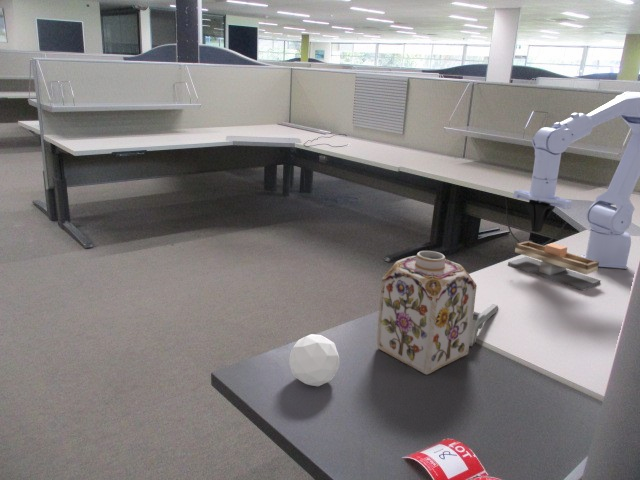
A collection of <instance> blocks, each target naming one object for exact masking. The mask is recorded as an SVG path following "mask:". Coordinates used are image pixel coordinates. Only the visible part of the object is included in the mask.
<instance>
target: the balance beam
mask: <svg viewBox="0 0 640 480" xmlns="http://www.w3.org/2000/svg"><path fill="white" fill-rule="evenodd" d="M544 251H545V245H541V244H539V243H535V242H532V241H529V240H527V241H522V242H519V243H516V244H515V249H514V253H516V254H520V255H523V256H524V257H522V258H518V259H515V260H511V261H507V266H510V267H513V268H516V269H518V270H522V271H525V272H528V273H531V274H534V275H535V276H539V277H542V278H545V279H548V280H551V281H554V282H557V283H560V284H563V285H566V286H568V287H571V288H573V289H574V288H575V289H576V290H581V291H583V290H587V289H589V288H592V287H594V286H597V285H600V284H601V281H602V280H600V279H597V278H594V277H591V276H588V275H589V274H592V273H595V272H598V270H599V267H598V265H599V262H598V261H594V260H591V259H587V258H584V257H581V256H580V255H576V254H573V253H569V252H566V257H560V256H557V255H554V254H550V253H547V252H544Z"/></svg>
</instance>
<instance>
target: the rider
mask: <svg viewBox="0 0 640 480" xmlns="http://www.w3.org/2000/svg"><path fill="white" fill-rule="evenodd" d="M544 246H545V251H544V252H547V253H550V254H554V255H557V256H560V257H566V252H567V251H568V246H564V245H560V244H557V243H554V242H551V243H548V244H545V245H544ZM567 253H568V252H567Z"/></svg>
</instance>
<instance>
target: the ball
mask: <svg viewBox="0 0 640 480" xmlns="http://www.w3.org/2000/svg"><path fill="white" fill-rule="evenodd" d="M288 363H289V367H290V369H291V370H290V371H291V372H292V375H293V377H294V378H295V379H297V380H298V381H300V382H302V383H304V384H305V385H307V386H313V387H320V386H323V385H325V384H327V383H329V382H331V381H332V379H333V378H334V377H335V375H336V374H337V373H338V371H339V370H340V356H339V352H338V349H337V346H336V344H335V342H333V340H331V339H329V338H327V337H325V336H323V335H321V334H315V333H310V334H309V335H306V336H304V337H302V338H300V339H298V340H297V341H296V343H295V344H294V345H293V347H292V348H291V350H290V353H289V359H288Z"/></svg>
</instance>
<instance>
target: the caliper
mask: <svg viewBox="0 0 640 480" xmlns="http://www.w3.org/2000/svg"><path fill="white" fill-rule="evenodd" d="M498 310H499V306H498V304H495V303H492V304H491V305H490V306H489V307H487V308H486V309H485V310H483V311H482V312H476V311H474V313H473V322H472V330H471V337H470V344H469V347H473V346H474V344H475V343H476V340H477V337H478V332H479V330H481V329H482V328H483V325H484V323H485V322H486V321H487V320H489V319H490V318H491V317H492V316H493V315H495V313H496V312H497V311H498Z"/></svg>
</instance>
